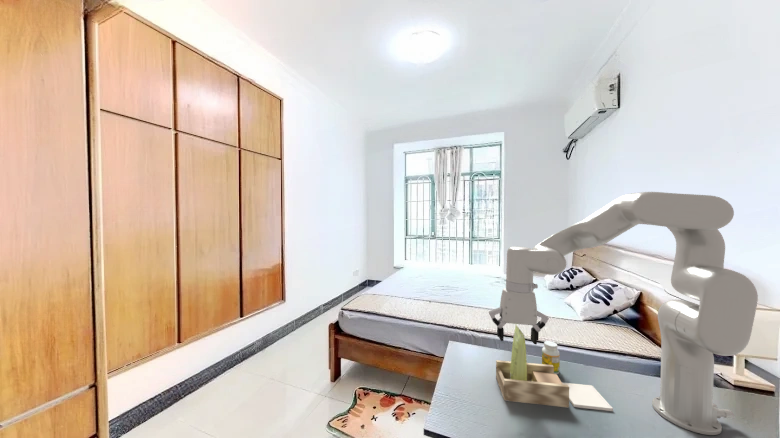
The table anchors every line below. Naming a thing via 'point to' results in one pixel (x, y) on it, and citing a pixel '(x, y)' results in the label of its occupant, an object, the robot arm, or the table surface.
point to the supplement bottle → (551, 356)
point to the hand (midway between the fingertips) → (517, 340)
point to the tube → (518, 357)
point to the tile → (587, 397)
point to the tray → (531, 386)
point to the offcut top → (545, 377)
